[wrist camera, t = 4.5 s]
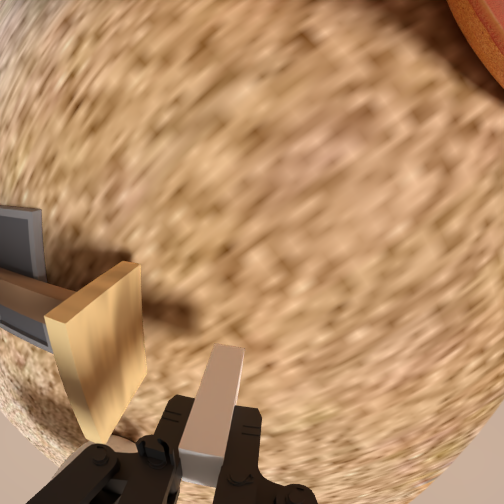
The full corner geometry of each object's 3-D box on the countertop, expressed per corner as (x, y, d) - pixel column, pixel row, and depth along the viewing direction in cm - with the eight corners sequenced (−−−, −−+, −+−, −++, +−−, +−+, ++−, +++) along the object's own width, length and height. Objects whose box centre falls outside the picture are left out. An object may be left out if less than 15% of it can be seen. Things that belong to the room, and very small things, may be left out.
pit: (-16, 203, 17) (-23, 205, 16) (41, 209, 17) (32, 211, 16) (2, 321, 20) (-3, 325, 20) (60, 348, 20) (54, 354, 19)
